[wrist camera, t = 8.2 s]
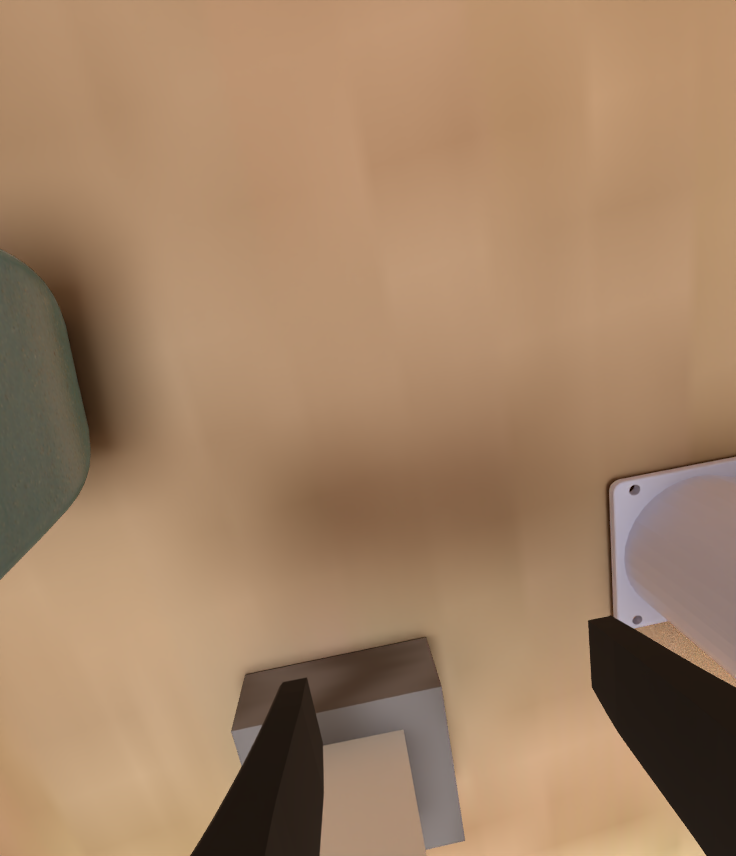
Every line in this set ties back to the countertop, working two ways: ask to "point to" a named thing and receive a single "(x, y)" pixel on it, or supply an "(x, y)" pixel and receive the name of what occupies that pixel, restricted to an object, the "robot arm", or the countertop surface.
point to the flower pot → (36, 413)
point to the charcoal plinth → (374, 718)
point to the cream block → (370, 799)
